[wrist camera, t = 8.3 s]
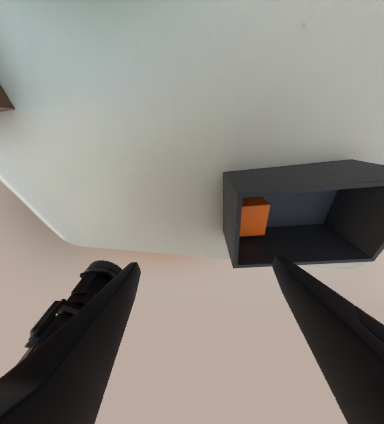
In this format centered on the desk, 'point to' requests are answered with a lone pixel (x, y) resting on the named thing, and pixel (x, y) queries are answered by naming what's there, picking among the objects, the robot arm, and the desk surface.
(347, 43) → the desk surface
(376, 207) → the bin
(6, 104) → the stand
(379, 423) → the robot arm
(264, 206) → the block
